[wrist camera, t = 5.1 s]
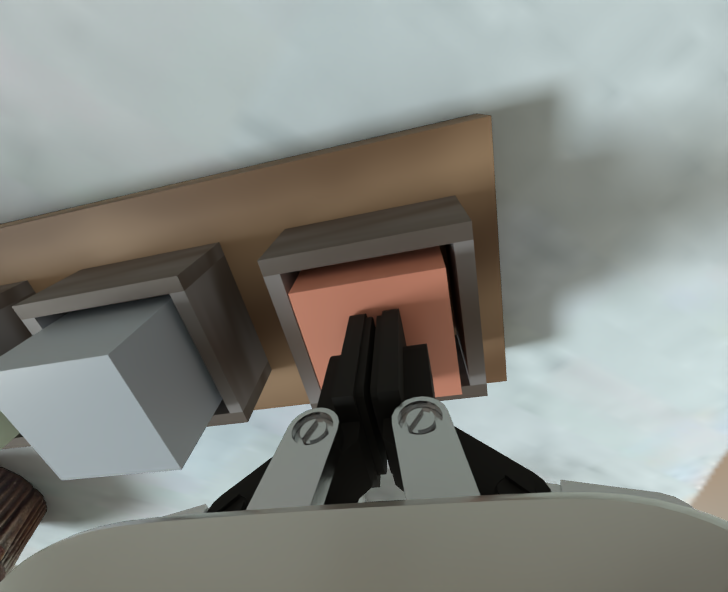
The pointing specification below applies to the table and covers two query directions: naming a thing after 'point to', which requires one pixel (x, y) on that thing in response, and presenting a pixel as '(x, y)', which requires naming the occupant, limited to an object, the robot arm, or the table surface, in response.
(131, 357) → the slate key
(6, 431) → the sage key
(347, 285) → the red key
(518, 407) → the table surface
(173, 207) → the console
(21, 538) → the cupcake
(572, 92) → the table surface
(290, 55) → the table surface
